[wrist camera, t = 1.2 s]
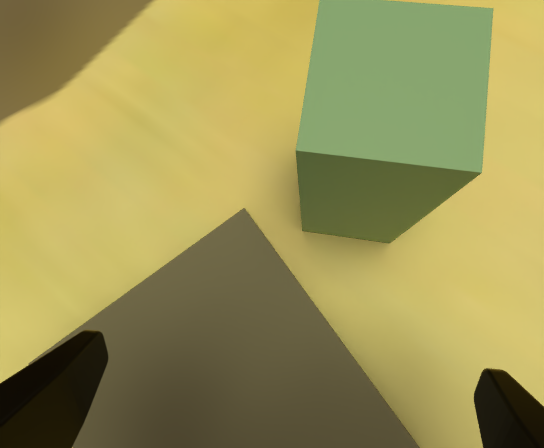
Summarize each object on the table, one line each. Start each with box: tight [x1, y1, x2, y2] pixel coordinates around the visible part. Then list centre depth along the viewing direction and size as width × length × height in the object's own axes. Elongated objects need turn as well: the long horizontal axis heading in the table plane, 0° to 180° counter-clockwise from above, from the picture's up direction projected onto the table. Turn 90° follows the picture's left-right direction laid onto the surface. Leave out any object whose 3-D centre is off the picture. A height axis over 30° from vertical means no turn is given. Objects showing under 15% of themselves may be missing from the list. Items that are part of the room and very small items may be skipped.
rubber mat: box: [29, 208, 419, 448], centre depth 22 cm, size 16×15×1 cm
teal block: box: [296, 0, 493, 243], centre depth 18 cm, size 5×5×12 cm
